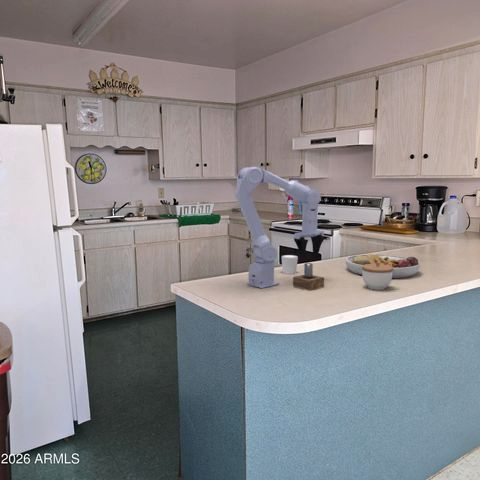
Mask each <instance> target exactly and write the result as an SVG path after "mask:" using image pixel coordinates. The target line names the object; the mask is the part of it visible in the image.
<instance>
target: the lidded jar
mask: <svg viewBox="0 0 480 480" xmlns="http://www.w3.org/2000/svg"><path fill="white" fill-rule="evenodd" d="M392 275H393V267H391V266H388V265H382V264H379V262H376V264H366V265H363V266H362V275H361V276H362V280H363V282H364V285H366V286H367V289H368V288H369V289H371V290H379V291H381V290H382V291H383V290H386V288H387V287H388V286H389V285H390V284H391V282H392V279H393V278H392Z"/></svg>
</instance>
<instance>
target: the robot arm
mask: <svg viewBox="0 0 480 480" xmlns="http://www.w3.org/2000/svg"><path fill="white" fill-rule="evenodd" d="M260 183H267V184H270V185H273V186H275V187H278V188H279V189H283V190H284V193H285V195H287V196H289V197H292V198H294V199H296V200H298V201H300V202H301V203H302V208H301V209H302V214H301V215H302V216H301V217H302V220H301V223H302V224H301V231H299V232H294V238H293V241H294V242H295V244H296V246H297V250H298V254H299V257H300V258H306V251H307V245H308V242H309V239H307V238H310V239H311V244H312V255H316V256H317V255H319V252H320V249H321V246H322V244H323V242H324V241H325V236H324V235H325V234H324V233H325V232H324V230H321V229H320V230H318V214H319V213H318V208H319V203H320V202H321V198H322V196H321V195H320V192H319V191H318V190H317V189H314V188H311V189H310V186H309V185H304V184H303V183H301V182H300V181H299V180H297V179H291V180H289V181H288V180H286V179H284V178H282V177H280V176H278V175H276V174H274V173H272V172H270V171H268V170H267V169H263V168H260V167H258V166H251V167H249V166H248V167H243V168H241V170H240V171H239V172H238V174H237V176H236V188H235V197H236V200H237V203H238V205H239V208H240V210H241V213H242V215H243V218H244V220H245V222H246V223H245V224H246V225H247V228H248V230H249V233H250V235H251V238H252V239H251V244H252V253H253V255H254V256H255V259H254V262H252V263H250V264H249V266H248V282H246V284H247V285H248V286H252V287H256V288H259V289H263V288H268V287H272V286H277V285H279V284H280V283H279V282H278V281H275V259H276V258H277V256H278V251H277V249H276V247H275V246H274V245H273V244H272V242H271V239H269V237H268V236H267V234H266V232H265V228H264V227H263V224H262V222H261V218H260V216H259V213H258V210H257V208H256V206H255V202H254V201H253V198H252V194H253V192H254V191H255V188H256V187H258V186H259V185H260Z"/></svg>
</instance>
